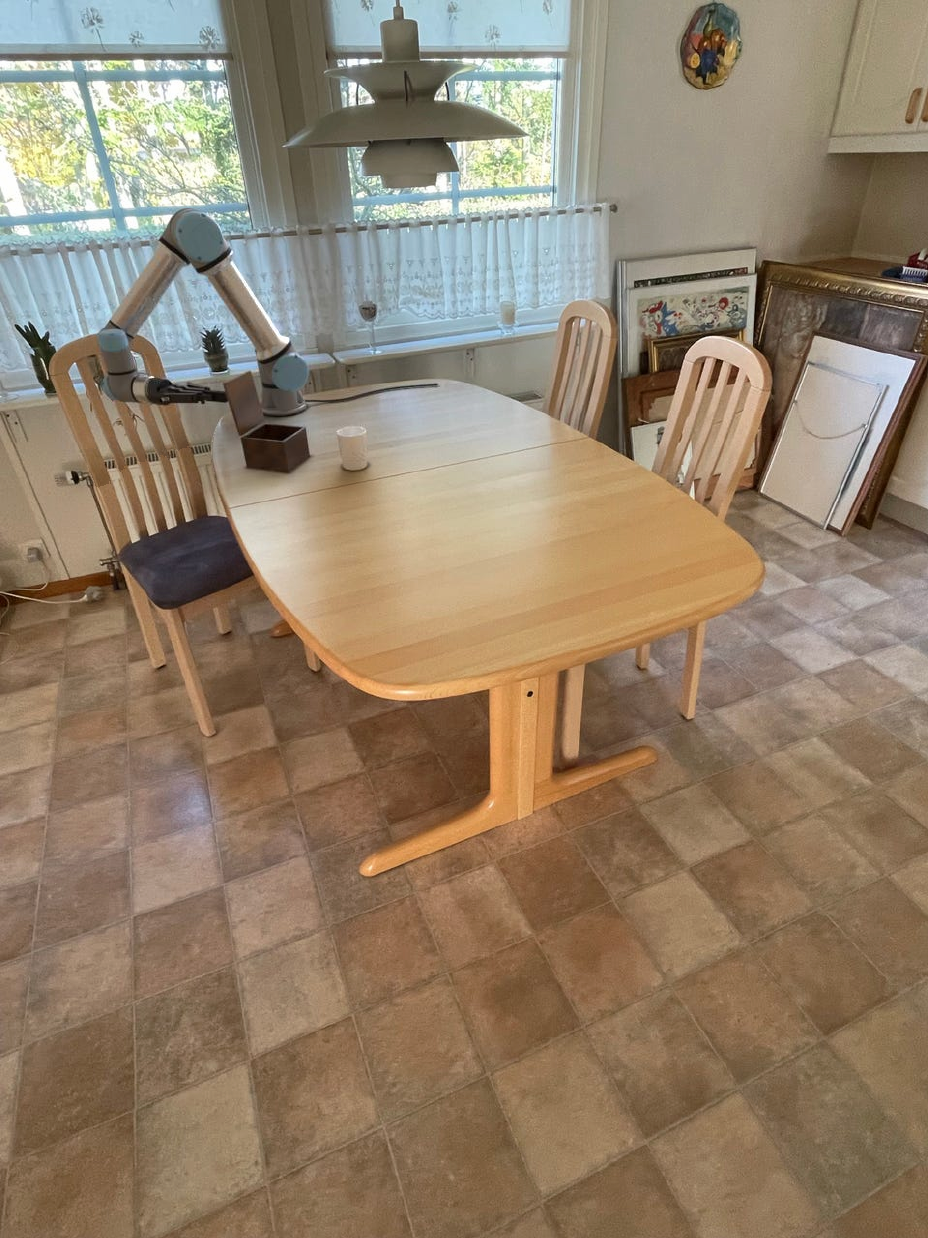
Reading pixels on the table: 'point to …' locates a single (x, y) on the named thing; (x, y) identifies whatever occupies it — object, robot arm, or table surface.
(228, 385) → the lid
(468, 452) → the table surface
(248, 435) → the tea box
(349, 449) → the white cup
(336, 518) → the table surface
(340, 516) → the table surface
